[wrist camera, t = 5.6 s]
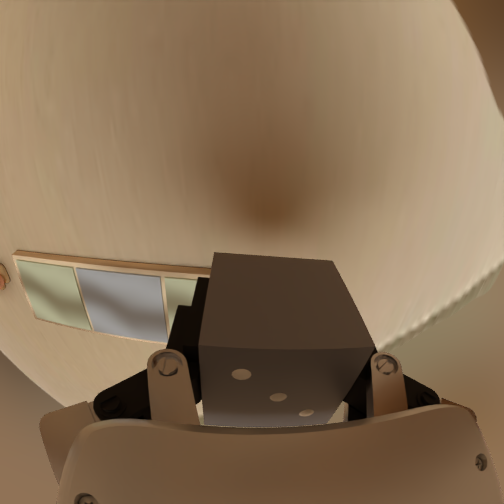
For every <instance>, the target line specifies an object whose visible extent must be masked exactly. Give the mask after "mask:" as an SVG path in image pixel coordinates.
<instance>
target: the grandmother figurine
mask: <svg viewBox="0 0 504 504" xmlns="http://www.w3.org/2000/svg"><path fill="white" fill-rule="evenodd" d="M9 282H10V278H9V276H8V274H7V271H6V269H5V267H4V266H3V265H2V264H0V289H1V290H4V289H5V287H6V286H5V283H9Z"/></svg>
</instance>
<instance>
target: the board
mask: <svg viewBox="0 0 504 504" xmlns="http://www.w3.org/2000/svg"><path fill="white" fill-rule="evenodd" d="M12 257H13V260H14V263H15V266H16V269H17V272H18V275H19V278H20V281H21V284H22V287H23V289H24V292H25V295H26V297H27V300H28V302H29V305H30V307H31V309H32V312H33V314H34V316H35V319H39V320H43V321H46V322H50V323H54V324H58V325H62V326H66V327H70V328H75V329H79V330H84V331H88V332H93V333H98V334H103V335H109V336H114V337H120V338H126V339H132V340H138V341H145V342H152V343H159V344H167V343H168V339H169V335H170V331H171V328H172V324H173V321H174V317H175V313H176V310H177V307H178V305H187V306H191V304H192V300H193V296H194V291H195V287H196V283H197V279H198V277H208V278H210V273H211V269H209V268H195V267H182V266H170V265H158V264H146V263H135V262H124V261H113V260H102V259H92V258H82V257H72V256H63V255H54V254H44V253H36V252H27V251H18V250H17V251H16V252H14V253H13V254H12Z"/></svg>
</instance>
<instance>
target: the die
mask: <svg viewBox="0 0 504 504" xmlns="http://www.w3.org/2000/svg"><path fill="white" fill-rule="evenodd" d="M198 347H199V364H200V379H201V392H202V404H203V415H204V424H205V425H216V426H235V427H286V426H304V425H316V424H326V423H327V422H328V421H329V419H330V418H331V417H332V415H333V414H334V413H335V411H336V410H337V408H338V407H339V405H340V404H341V402H342V401H343V399H344V398H345V396H346V395H347V393H348V392H349V390H350V389H351V387H352V385H353V384H354V382H355V381H356V379H357V377H358V376H359V374H360V372H361V371H362V369H363V367H364V366H365V364H366V362H367V361H368V359H369V357H370V355H371V353H372V352H373V350H374V348H375V344H374V342H373V340H372V338H371V336H370V334H369V332H368V330H367V327H366V325H365V323H364V321H363V319H362V317H361V315H360V313H359V311H358V309H357V307H356V305H355V303H354V301H353V299H352V297H351V295H350V293H349V291H348V289H347V287H346V285H345V283H344V282H343V280H342V278H341V276H340V274H339V272H338V270H337V268H336V266H335V265H334V263H333V261H329V260H314V259H300V258H286V257H272V256H258V255H244V254H230V253H217V252H214V257H213V262H212V267H211V273H210V278H209V284H208V290H207V295H206V301H205V307H204V313H203V319H202V325H201V331H200V338H199V344H198Z"/></svg>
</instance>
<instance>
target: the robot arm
mask: <svg viewBox="0 0 504 504" xmlns="http://www.w3.org/2000/svg"><path fill="white" fill-rule="evenodd" d="M208 284H209V278H208V277H198V279H197V283H196V287H195V291H194V296H193V300H192V304H191V306H187V305H178V307H177V310H176V313H175V317H174V321H173V324H172V328H171V331H170V335H169V339H168V343H167V346H166V349H162V350H158V351H156V352H154V353H153V354H152V355H151V356H150V357H149V359H148V362H147V369H145V370H143V371H141V372H139V373H137V374H135V375H133V376H132V377H130V378H128V379H126V380H124V381H122V382H120V383H118V384H116V385H114V386H112V387H110V388H108V389H106V390H103V391H102V392H100V393H99V394H98V395H97V396H96V397H95V399H94V401H92V402H90V403H87V401H84V402H81V403H78V404H75V405H72V406H69V407H66V408H63V409H59V410H56V411H53V412H49V413H47V414H45V415H44V416H43V417H42V418H41V420H40V423H39V427H40V432H41V436H42V439H43V443H44V446H45V449H46V452H47V455H48V458H49V461H50V464H51V467H52V469H53V472H54V475H55V477H56V480H57V482H58V484H59V489H58V495H57V501H56V504H504V501H503V496H502V491H501V487H500V483H499V479H498V475H497V472H496V469H495V466H494V463H493V460H492V457H491V454H490V451H489V449H488V446H487V444H486V441H485V439H484V436H483V434H482V432H481V430H480V428H479V426H478V424H477V423H476V422H477V419H476V415H475V413H474V411H473V410H471V409H470V408H467V407H464V406H462V405H459V404H457V403H454V402H452V401H449V400H446V399H444V398H441V399H439V397H438V395H437V394H436V393H435V391H433V390H432V389H430V388H428V387H426V386H425V385H423V384H421V383H419V382H417V381H415V380H413V379H411V378H410V377H408V376H406V375H404V374H403V372H402V366H401V364H400V361H399V360H398V359H397V358H396V357H395V356H394V355H392V354H390V353H387V352H377V350H376V347H375V348H374V350H373V352H372V353H371V355H370V357H369V359H368V361H367V362H366V364H365V366H364V367H363V369H362V371H361V372H360V374H359V376H358V377H357V379H356V381H355V382H354V384H353V385H352V387H351V389H350V390H349V392H348V393H347V395H346V396H345V398H344V399H343V401H344V402H345V403H344V418H343V419H344V420H343V422H340V423H332V424H323V425H312V426H299V427H278V428H236V427H216V426H202V425H200V421H199V417H198V413H197V409H196V404H197V403H199V402H200V401H201V400H202V392H201V379H200V364H199V347H198V344H199V338H200V331H201V325H202V319H203V313H204V307H205V301H206V295H207V290H208Z"/></svg>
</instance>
